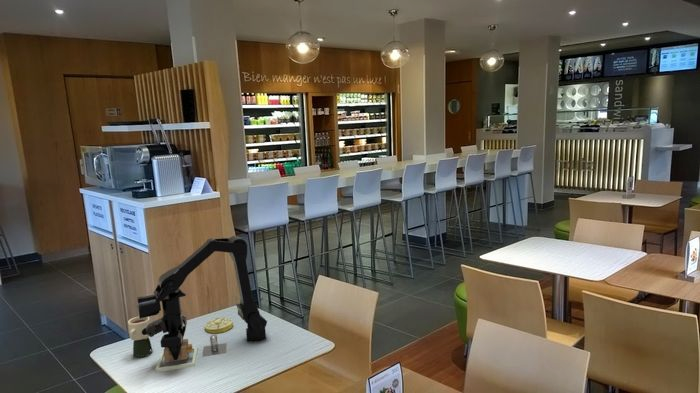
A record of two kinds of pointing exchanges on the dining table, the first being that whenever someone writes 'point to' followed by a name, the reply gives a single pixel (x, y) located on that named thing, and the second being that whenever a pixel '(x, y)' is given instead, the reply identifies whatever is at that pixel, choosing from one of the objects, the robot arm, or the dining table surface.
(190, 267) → the robot arm
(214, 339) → the stake
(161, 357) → the tray
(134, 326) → the character mug
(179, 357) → the brown piece
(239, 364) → the dining table surface
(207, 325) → the decorated donut
